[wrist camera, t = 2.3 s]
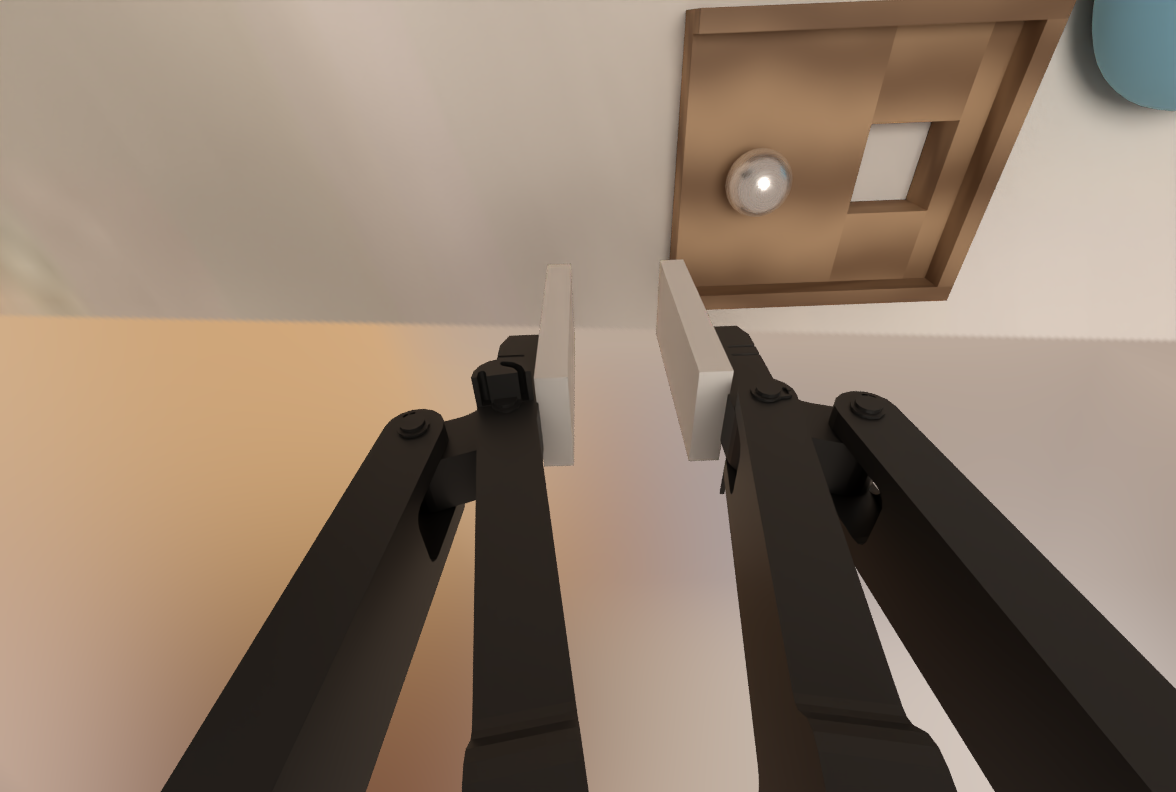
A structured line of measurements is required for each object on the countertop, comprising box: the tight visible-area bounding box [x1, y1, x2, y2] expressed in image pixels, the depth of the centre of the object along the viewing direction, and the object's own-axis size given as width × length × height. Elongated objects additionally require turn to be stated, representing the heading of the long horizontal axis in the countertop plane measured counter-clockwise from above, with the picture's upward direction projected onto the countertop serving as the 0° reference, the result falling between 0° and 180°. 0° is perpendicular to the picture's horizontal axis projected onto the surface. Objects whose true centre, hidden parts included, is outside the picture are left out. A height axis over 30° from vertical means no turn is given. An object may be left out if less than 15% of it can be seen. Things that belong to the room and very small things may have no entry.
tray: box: [670, 0, 1076, 310], centre depth 30 cm, size 16×18×4 cm
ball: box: [725, 148, 792, 217], centre depth 28 cm, size 4×4×4 cm
